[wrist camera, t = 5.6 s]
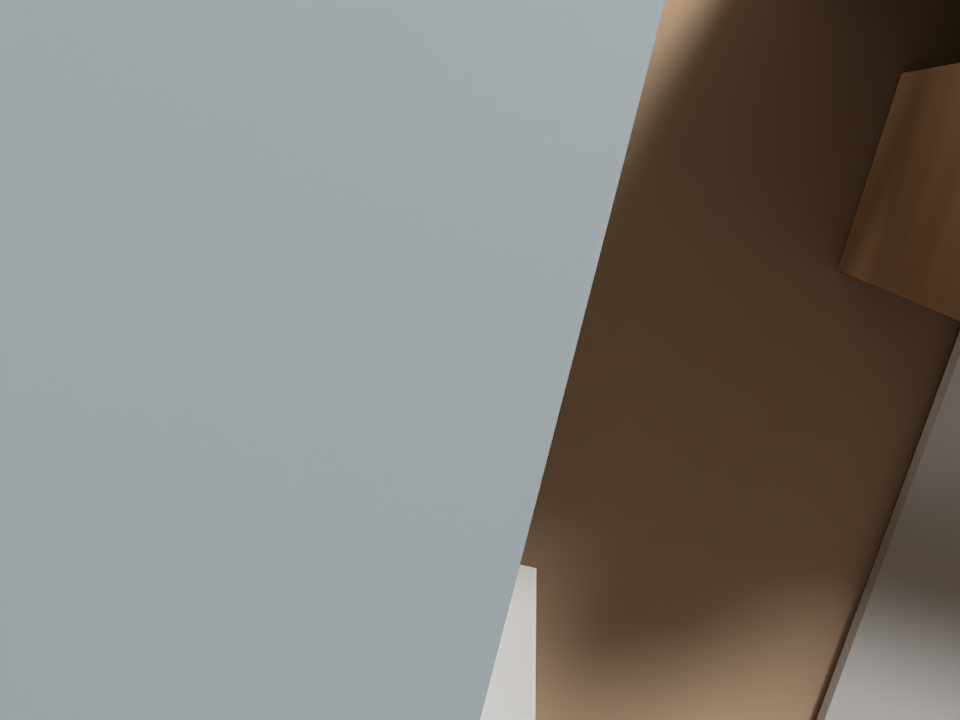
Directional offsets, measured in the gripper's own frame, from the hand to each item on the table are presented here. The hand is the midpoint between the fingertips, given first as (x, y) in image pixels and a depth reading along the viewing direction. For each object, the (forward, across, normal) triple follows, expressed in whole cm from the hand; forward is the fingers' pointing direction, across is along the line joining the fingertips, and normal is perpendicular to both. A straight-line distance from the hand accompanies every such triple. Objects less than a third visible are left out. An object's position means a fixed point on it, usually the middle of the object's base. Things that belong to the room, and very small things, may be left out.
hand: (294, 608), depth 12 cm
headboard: (+6, -15, -1) cm, 16 cm away
